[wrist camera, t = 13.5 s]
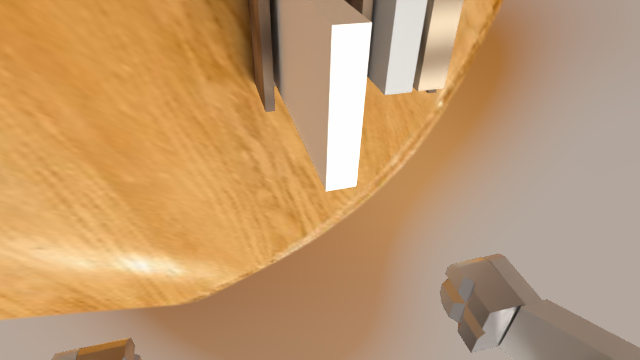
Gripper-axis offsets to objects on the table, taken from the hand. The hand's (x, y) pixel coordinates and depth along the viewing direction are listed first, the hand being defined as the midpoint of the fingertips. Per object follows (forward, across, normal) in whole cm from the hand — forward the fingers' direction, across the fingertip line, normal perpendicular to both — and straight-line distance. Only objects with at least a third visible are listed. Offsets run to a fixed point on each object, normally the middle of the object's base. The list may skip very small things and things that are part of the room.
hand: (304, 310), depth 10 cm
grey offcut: (+38, -17, +4) cm, 42 cm away
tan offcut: (+38, -21, +4) cm, 43 cm away
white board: (+38, -7, +4) cm, 39 cm away
